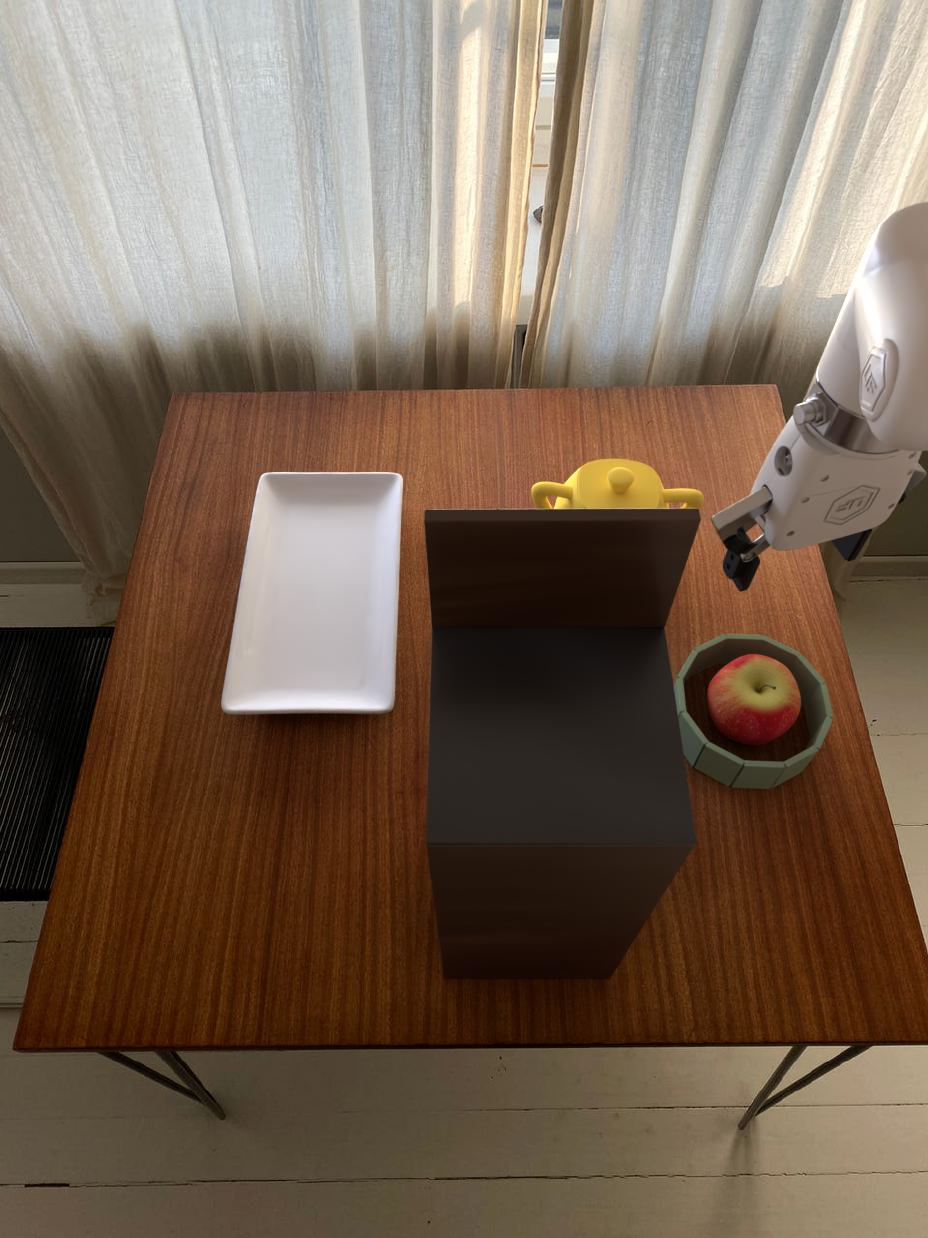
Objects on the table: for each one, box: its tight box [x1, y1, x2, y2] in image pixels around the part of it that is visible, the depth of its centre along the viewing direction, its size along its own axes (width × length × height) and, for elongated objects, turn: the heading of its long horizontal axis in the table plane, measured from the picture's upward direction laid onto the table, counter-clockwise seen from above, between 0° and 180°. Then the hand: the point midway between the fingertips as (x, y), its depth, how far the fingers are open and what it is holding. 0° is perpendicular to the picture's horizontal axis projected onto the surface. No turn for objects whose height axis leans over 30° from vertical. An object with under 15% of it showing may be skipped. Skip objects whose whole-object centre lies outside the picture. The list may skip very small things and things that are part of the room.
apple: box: [706, 654, 802, 746], centre depth 82 cm, size 8×8×10 cm
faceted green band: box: [673, 633, 834, 790], centre depth 84 cm, size 14×14×5 cm
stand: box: [423, 507, 702, 980], centre depth 59 cm, size 14×14×44 cm
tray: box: [220, 471, 404, 715], centre depth 94 cm, size 17×31×4 cm, turn 0°
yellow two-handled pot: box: [530, 458, 705, 510], centre depth 94 cm, size 14×14×12 cm
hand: (788, 562), depth 71 cm, fingers open, 9 cm apart
